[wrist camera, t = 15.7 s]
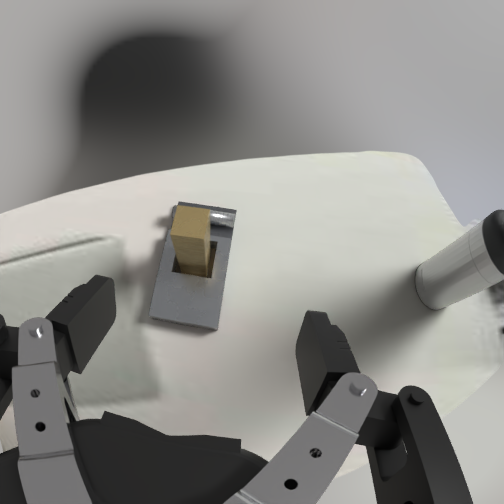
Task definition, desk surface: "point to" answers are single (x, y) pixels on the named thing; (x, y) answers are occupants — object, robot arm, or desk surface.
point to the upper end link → (190, 289)
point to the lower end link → (215, 221)
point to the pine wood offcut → (192, 239)
